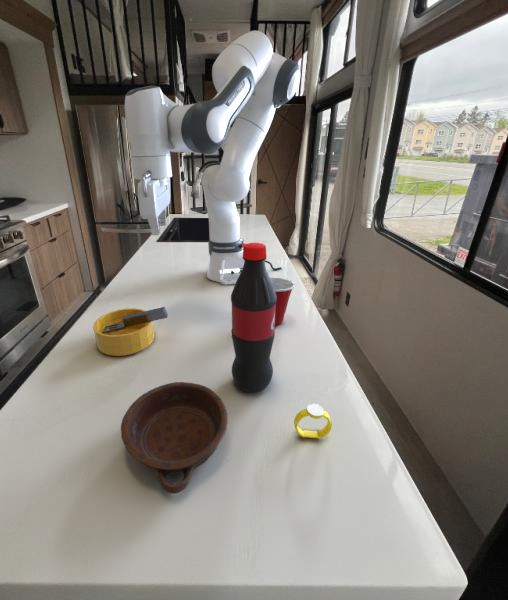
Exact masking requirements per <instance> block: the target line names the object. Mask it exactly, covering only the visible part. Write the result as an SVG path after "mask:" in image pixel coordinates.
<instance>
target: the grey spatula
mask: <svg viewBox="0 0 508 600" xmlns="http://www.w3.org/2000/svg"><path fill="white" fill-rule="evenodd" d="M168 316H169V314H168V311H167V308H166V307H165V306H161V307H157V308H152V309H149V310H145V311H144V312H140V313H136V314H131V315H127V316H123V318H122V321H123V322H121V323H117V324H112V325H108V326H105V328H104V329H103V330H104V331H102V333H103V334H104V333H108V332H112V331H117V330H121V329H125V327H129V326H134V325H138V324H142V323H147V322H151V321H153V322H156V321H159V320H163V319H167V318H168Z"/></svg>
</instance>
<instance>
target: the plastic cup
mask: <svg viewBox="0 0 508 600" xmlns="http://www.w3.org/2000/svg"><path fill="white" fill-rule="evenodd" d="M270 278H271V281H272V283H273V286H274V289H275V293H276V296H277V301H276V307H275V326H274V327H278V326H280V325H282V324H283V322H284V318H285V314H286V312H287V309H288V308H287V307H288V303H289V300H290V297H291V294H292V292H293V290H294V288H295V282H293V281H292V280H289V279H287V278H282V277H275V276H270Z"/></svg>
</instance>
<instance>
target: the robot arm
mask: <svg viewBox="0 0 508 600" xmlns="http://www.w3.org/2000/svg"><path fill="white" fill-rule="evenodd" d="M301 73H302V72H301V67H300V65H299V64H298V63H297V62H296V61H294V60H293V59H291V58H286V57H284V56H282V55H281V54H278V53H277V52H274V51H273V46H272V43H271V41H270V39H269V37H268V36H267V35H266V34H265V33H264V32H262V31H260V30H250V31H248V32H245V33H243V34H242V35H241V36H239V37H238V38H236V39H235V40H233V41H232V42H231V43H230V44H229V45H228V46H226V47H225V48H224V49H223V51H221V53H219V55H218V56H217V58H216V59H215V61H214V62H213V64H212V68H211V78H212V79H211V80H212V83H213V86H214V88H215V91H216V92H217V93H216V95H214V97H213V98H211V99H210V100H203V101H199V102H196V103H190V104H183V105H180V104H178V103H177V102H175V101H172V99H170V98H169V97H167V95H166V94H165V93H164V92H163V91H162V89H161V87H160V86H157V85H146V86H142V87H137V88H133V89H130V90H129V91H127V93H126V94H125V97H124V117H125V118H124V119H125V129H126V134H127V137H128V140H129V144H130V153H129V154H130V162H131V169H132V175H133V179H134V180H139V182H138V183H137V199H138V210H139V215H140V217H141V219H143V220H147V222H148V225H149V228H150V233H151V235H152V236H159V235H160V233H161V228H160V227H165V226H166V225H167V208H168V205H170V204H171V197H172V196H171V194H172V193H171V178H172V177H173V169H172V167H173V166H172V157H171V152H172V153H185V154H186V153H197V154H203V155H212V154H214V153H216V152H218V151H219V150H220V149H221V147H223V144H224V150H223V154H222V158H221V161H220V163H219V164H214V165H210V166H209V167H207V168H206V169H204V171H203V172H202V174H201V177H200V184H201V188H202V190H203V195H204V202H205V207H206V210H207V212H206V213H207V215H208V216H207V217H208V233H209V234H208V235H209V239H208V242H207V245H208V247H207V249H208V255H209V261H208V269H207V272H206V278H208V279H209V280H211V281H212V282H217V283H219V284H222V285H226V286H227V285H235V284H236V281H237V279H238V277H239V275H240V273H241V271H242V269H243V266H244V261H245V260H243V248H244V245H245V244H247V242H246V240H245V239H244V238H241V219H240V215H239V212H238V209H237V205H236V202H241V201H242V200H243V199H245V198H246V197H247V195H248V193H249V191H250V176H251V172H252V168H253V164H254V162H255V159H256V156H257V155H258V153H259V150H260V148H261V146H262V144H263V142H264V141H265V138H266V136H267V133H268V132H269V129H270V127H271V124H272V122H273V120H274V115H275V113H276V109H279V108H281V106H282V105H285V104H287V103H288V102H289V101H290V100H291V99H293V98H294V96H295V94H296V93H297V90H298V88H299V85H300V81H301V75H302V74H301ZM264 262H265V264H269V265H270V268H271V270H273V271H279V270H282V266H280V267H274V265H273V263H272V262H270V261H269V260H267V259H266V260H264Z"/></svg>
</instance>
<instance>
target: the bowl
mask: <svg viewBox="0 0 508 600" xmlns="http://www.w3.org/2000/svg"><path fill="white" fill-rule="evenodd" d="M144 311H146V310H145V309H143V308H135V307H133V308H132V307H131V308H130V307H129V308H128V307H127V308H120V309H116V310H113V311H109V312H107V313H105V314H103V315H101V316H100V317H98V318H97V319H96V320H95V322H94V323H93V326H92V328H93V335H94V338H95V343H96V347H97V349H98V350H99V352H101V353H103V354H105V355H108V356H115V357H116V356H119V357H120V356H128V355H133V354H135V353H138V352H141V351H143V350H145V349H146V348H148V347H150V345H151V344H152V343H154V340H155V328H154V321H151V322H147V323H142V324H138V325H134V326H129V327H125V329H121V330H117V331H112V332H108V333H104V334H103V333H102V331H104V330H103V329H104V328H105V326H108V325H112V324H117V323H121V322H123V321H122V318H123V316H127V315H131V314H136V313H140V312H144Z"/></svg>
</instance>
